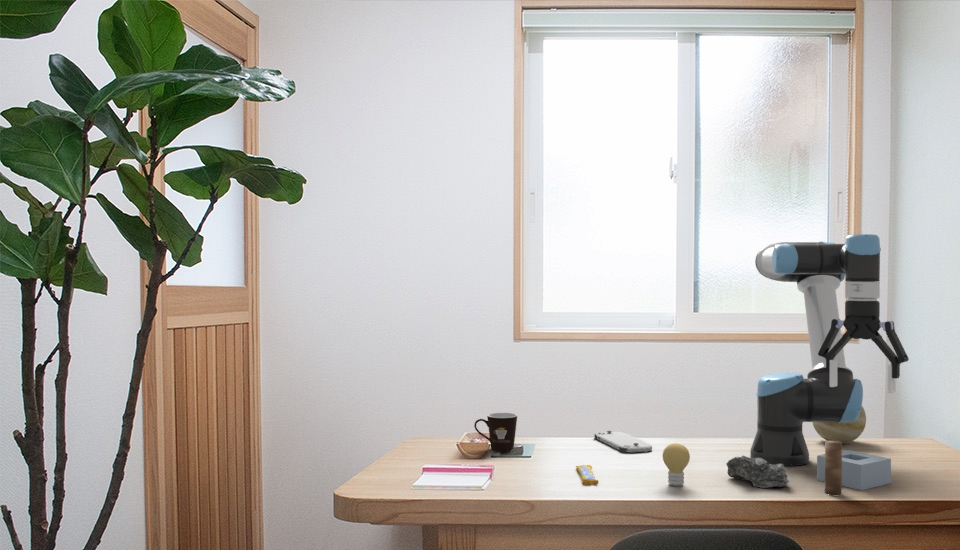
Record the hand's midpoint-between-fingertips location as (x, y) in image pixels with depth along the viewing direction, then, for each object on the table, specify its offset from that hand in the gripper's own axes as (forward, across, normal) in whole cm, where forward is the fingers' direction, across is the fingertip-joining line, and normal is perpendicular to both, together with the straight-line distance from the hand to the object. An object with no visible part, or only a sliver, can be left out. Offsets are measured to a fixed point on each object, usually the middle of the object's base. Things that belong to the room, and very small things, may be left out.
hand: (861, 389), depth 210 cm
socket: (+24, -4, +6) cm, 25 cm away
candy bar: (+24, -53, -36) cm, 69 cm away
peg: (+24, -3, -9) cm, 25 cm away
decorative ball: (+24, -26, +48) cm, 59 cm away
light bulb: (+24, -33, -28) cm, 49 cm away
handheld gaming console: (+24, -70, +1) cm, 74 cm away
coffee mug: (+24, -91, -30) cm, 99 cm away
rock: (+24, -20, -12) cm, 33 cm away
